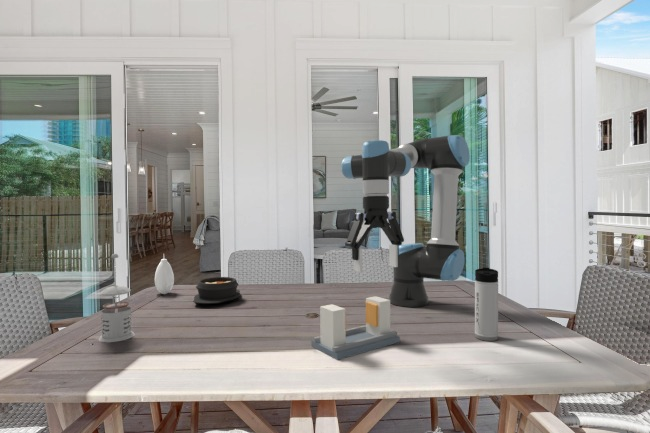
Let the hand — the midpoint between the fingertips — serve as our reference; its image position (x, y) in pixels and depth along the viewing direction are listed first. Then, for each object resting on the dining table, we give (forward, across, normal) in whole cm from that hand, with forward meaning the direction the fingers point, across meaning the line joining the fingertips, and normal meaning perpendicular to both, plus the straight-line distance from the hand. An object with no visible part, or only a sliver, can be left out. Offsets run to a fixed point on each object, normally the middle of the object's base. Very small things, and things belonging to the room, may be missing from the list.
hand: (376, 269), depth 114 cm
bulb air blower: (+20, +37, -99) cm, 108 cm away
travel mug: (+21, -26, +18) cm, 38 cm away
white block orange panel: (+19, 0, 0) cm, 19 cm away
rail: (+20, +8, 0) cm, 22 cm away
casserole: (+21, +22, -73) cm, 79 cm away
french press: (+20, +62, -48) cm, 81 cm away
